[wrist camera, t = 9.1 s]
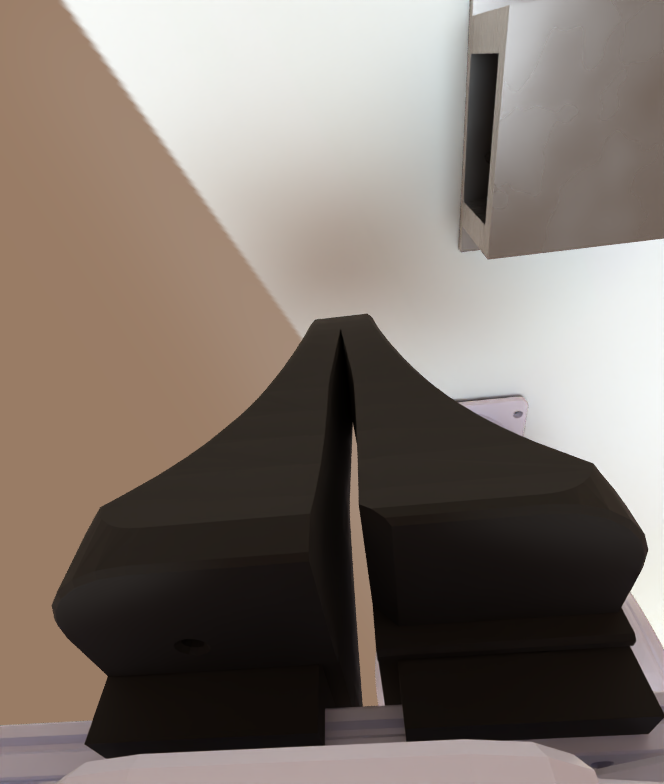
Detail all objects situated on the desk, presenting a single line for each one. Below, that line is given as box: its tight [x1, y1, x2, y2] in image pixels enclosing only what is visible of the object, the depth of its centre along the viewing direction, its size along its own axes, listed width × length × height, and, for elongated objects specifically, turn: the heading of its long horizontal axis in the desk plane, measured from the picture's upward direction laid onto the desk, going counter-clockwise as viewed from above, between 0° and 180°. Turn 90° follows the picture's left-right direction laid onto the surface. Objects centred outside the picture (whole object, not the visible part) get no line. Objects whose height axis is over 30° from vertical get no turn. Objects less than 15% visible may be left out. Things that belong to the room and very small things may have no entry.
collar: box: [459, 0, 664, 259], centre depth 15 cm, size 9×9×4 cm
